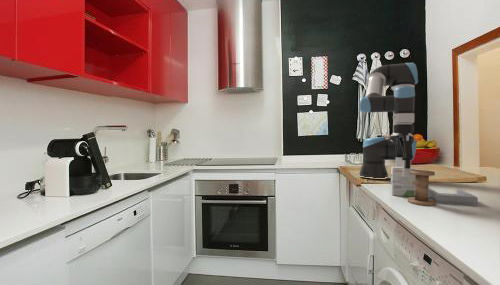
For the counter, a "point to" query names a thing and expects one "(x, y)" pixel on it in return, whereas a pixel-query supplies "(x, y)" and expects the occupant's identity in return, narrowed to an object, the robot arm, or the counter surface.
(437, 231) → the counter surface
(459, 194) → the grey piece
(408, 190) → the ink box
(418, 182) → the bobbin
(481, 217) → the counter surface
